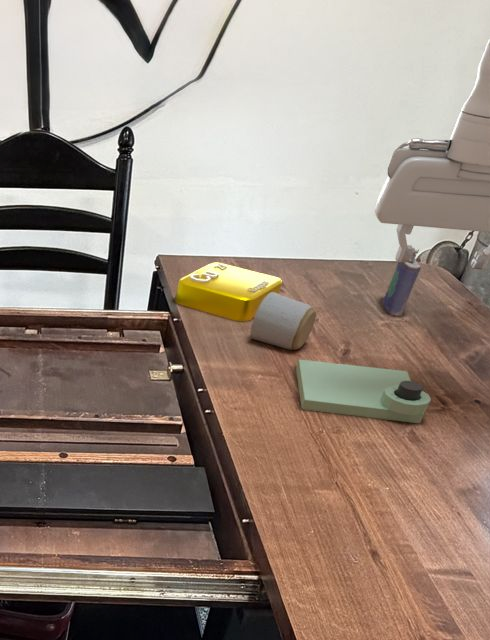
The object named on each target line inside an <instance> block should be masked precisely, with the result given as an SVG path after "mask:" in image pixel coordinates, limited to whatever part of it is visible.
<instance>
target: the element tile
mask: <svg viewBox="0 0 490 640" xmlns="http://www.w3.org/2000/svg"><path fill="white" fill-rule="evenodd" d="M282 285H283V280H282V279H281V277H278V276H275V275H270V274H266V273H262V272H258V271H254V270H250V269H246V268H242V267H238V266H234V265H231V264H226V263H223V262H218V261H217V262H212V263H209V264H207V265H205V266H203V267H201V268H199V269H197V270H195V271H193V272H191V273H189V274H187V275H184V276H183V277H180V279H178V283H177V288H176V294H175V299H174V302H175V303H176V304H177V305H180V306H183V307H185V308H190V309H193V310H197V311H200V312H204V313H207V314H211V315H214V316H217V317H221V318H225V319H228V320H230V321H231V320H232V321H236V322H249V321H250V320H251V321H252V319H254V317H255V315H256V312H257V310H258V308H259V306H260V304H261V302H262V301H263V299H264V298H265V297H266V296H267V295H268V294H269V293H271V292H275V293H277V294H280V292H281V290H282Z"/></svg>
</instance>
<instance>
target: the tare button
mask: <svg viewBox="0 0 490 640" xmlns="http://www.w3.org/2000/svg"><path fill="white" fill-rule="evenodd" d="M422 391H424V386H423V385H422V384H421V383H419V382H416V381H413V380H411V381H402V382H400V384H399V387H398V389H397V391H396V394H395V395H396V396H397V397H399V398H401V399H404V400H409V401H416V400H418V399H419V396H420V394H421V392H422Z"/></svg>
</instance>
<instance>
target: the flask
mask: <svg viewBox="0 0 490 640" xmlns="http://www.w3.org/2000/svg"><path fill="white" fill-rule="evenodd" d="M412 248H413V249H414V251H413V253H412V255H411V256H410V261H409V262H397V265H396V267H395V269H394V272H393V274H392V277H391V280H390V282H389V285H388V288H387V290H386V292H385V294H384V298H383V299H382V306H383V309H384V311H385V312H386V313H387V314H388V315H389V316H391V317H402V315H403V314H404V311H405V309H406V306H407V303H408V300H409V298H410V295H411V293H412V290H413V288H414V285H415V283H416V280H417V278H418V275H419V273H420V271H421V269H422V266H421V265H420V264H419V263H418V261H417V260H416V258H417V254H418V253H419V251H420V249H416V248H415V247H412Z"/></svg>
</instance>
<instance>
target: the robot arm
mask: <svg viewBox="0 0 490 640" xmlns="http://www.w3.org/2000/svg"><path fill="white" fill-rule="evenodd" d="M374 214H375V216H376V219H377V220H378V221H379V222H380V223H381V224H386V225H387V224H389V225H397V227H396V229H395V230H396V234H397V239H398V244H399V246H398V249H397V252H396V254H395V259H394V260H395V261H396V262H397V263H398V262H409V261H410V256H411V255H412V253H413V251H414V249H413V248H414V247H413V245H411V244H408V242H407V236H406V235H411V234H412V232H413V229H414V227H422V228H423V227H424V228H434V229H435V228H436V229H446V230H447V229H448V230H459V231H470V232H480V233H481V232H482V233H490V37H489V38H488V40H487V43H486V46H485V48H484V51H483V53H482V55H481V59H480V60H479V64H478V67H477V76H476V80H475V84H474V86H473V89H472V90H471V92H470V95H468V97H467V99H466V100H465V102H464V104H463V106H462V107H461V109H460V113H459V115H458V118H457V120H456V123H455V126H454V128H453V131H452V133H451V136H450V139H448V140H447V139H424V138H417V137H415V138H411V139H410V140H409V141H406V142H403V143H401V144H400V145H399V146H398V147H396V148H395V150H393V153H392V155H391V157H390V160H389V163H388V166H387V178H386V180H385V182H384V185H383V186H382V189H381V191H380V193H379V195H378V198H377V200H376V203H375V205H374ZM489 262H490V244H489V245H488V246H486V248H484V250H482V251H478V250H477V251H476V250H475V253H474V255H473V258H472V259H471V261H470V267H471V269H473V270H481V271H485V270H486V269H487V267H488V265H489V264H490V263H489Z"/></svg>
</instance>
